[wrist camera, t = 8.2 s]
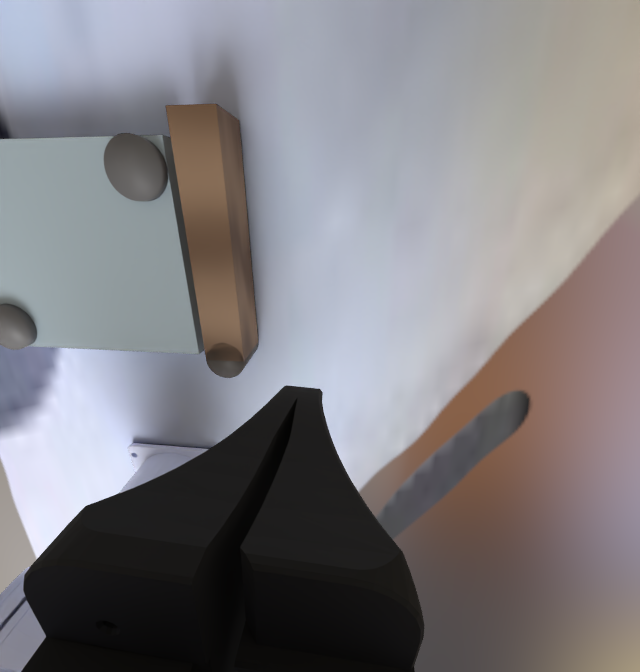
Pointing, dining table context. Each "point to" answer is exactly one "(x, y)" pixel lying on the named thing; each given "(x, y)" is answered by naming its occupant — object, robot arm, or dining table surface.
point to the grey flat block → (94, 246)
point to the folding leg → (216, 231)
